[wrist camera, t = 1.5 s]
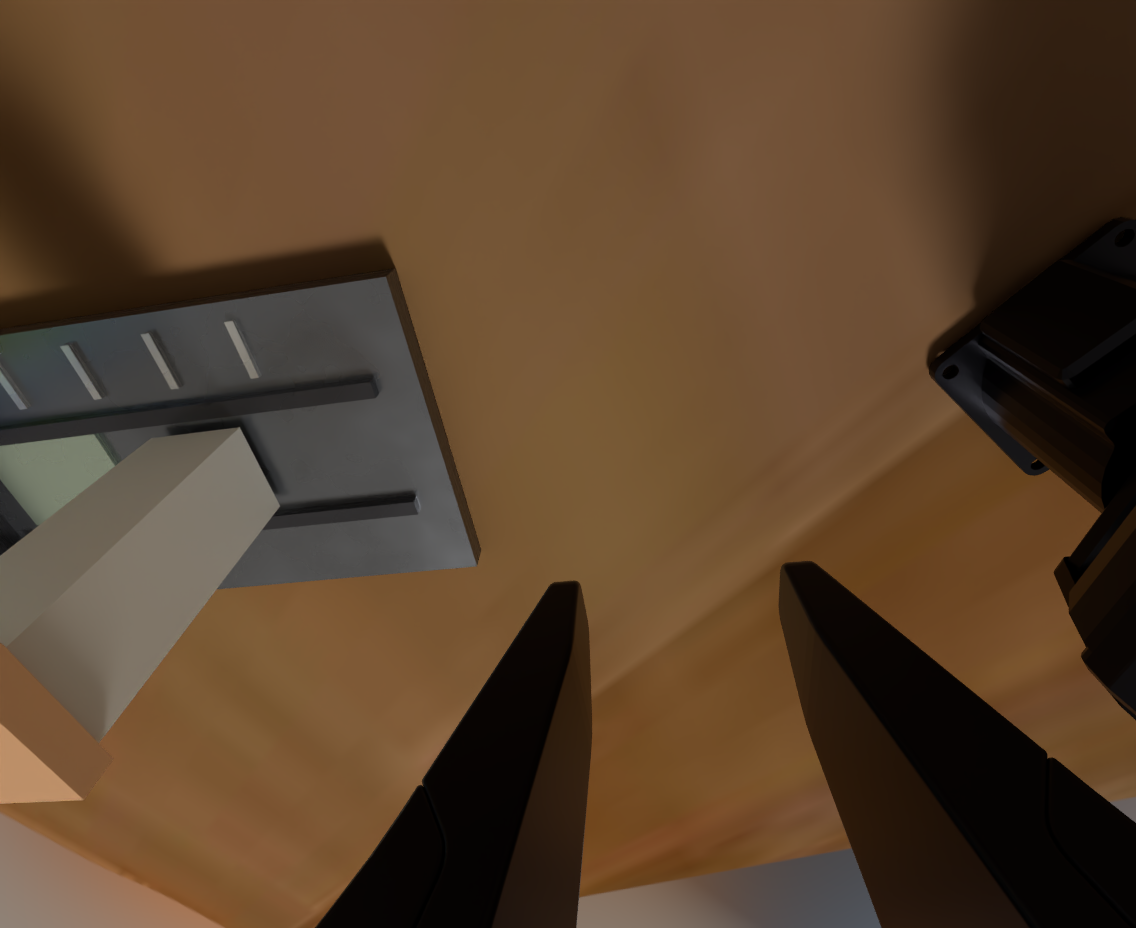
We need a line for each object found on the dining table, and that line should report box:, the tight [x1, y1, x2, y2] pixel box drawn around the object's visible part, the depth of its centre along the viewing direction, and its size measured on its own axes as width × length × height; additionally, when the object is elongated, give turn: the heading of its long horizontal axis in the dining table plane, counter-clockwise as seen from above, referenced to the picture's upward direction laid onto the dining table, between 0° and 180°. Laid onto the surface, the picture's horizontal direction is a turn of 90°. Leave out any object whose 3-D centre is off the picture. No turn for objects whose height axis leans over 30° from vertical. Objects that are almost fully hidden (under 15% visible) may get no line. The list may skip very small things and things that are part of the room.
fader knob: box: [0, 427, 280, 804], centre depth 17 cm, size 4×4×11 cm
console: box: [0, 269, 481, 589], centre depth 22 cm, size 20×12×3 cm, turn 99°
